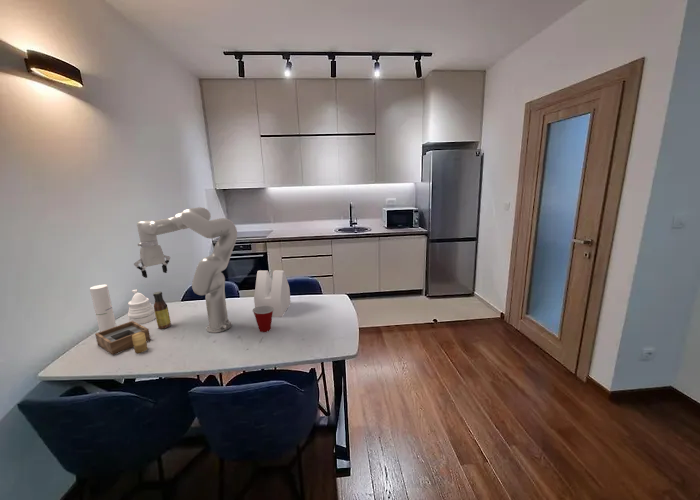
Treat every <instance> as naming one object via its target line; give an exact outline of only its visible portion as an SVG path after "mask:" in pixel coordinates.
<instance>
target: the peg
mask: <svg viewBox="0 0 700 500" xmlns="http://www.w3.org/2000/svg"><path fill="white" fill-rule="evenodd" d="M132 340H133V345H134V347H133V348H134V353H136V354H141V352H142V353H144V352H146V351H147V350H148V349H149V347H148V344H147V342H148V341H146V337H145V333H144V332H139V333H136V334H134V335H132Z"/></svg>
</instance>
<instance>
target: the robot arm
mask: <svg viewBox="0 0 700 500" xmlns="http://www.w3.org/2000/svg"><path fill="white" fill-rule="evenodd" d="M211 218H212V217H211V212H210V210H208V209H207V208H205V207H200V206H199V207H192V208H186V209H184V210H183V211H182V212H177V213H175V215H174V216H172V217H168V218H162V219H156V220H149V219H148V220H147V219H146V220H140V221H138V222H137V224H136V227H137V232H138V237H139V243H137V246H138V247H140V249H139V257H140V259H138V260H137V261H136V262H134V263H133V266H135V268H136V269H138V270H139V271H140V272H141V276H142V277H143V278H144V279H146V278H148V274H147V273H148V272H147V270H146V269H147V267H153V266H157V265H162V266H161V268H162V272H163V274H167V273H168V268H167V266H168V264H169V263H170V260H171V256H169V255H165V254H164V252H163V249H162V246H161V244H159V242H158V236H159V235H165V234H168V233H173V232H174V233H175V232H177V231H181V230H187V229H190V230H191V231H193V232H195V233H197V234H198V235H200V236H202V237H204V238H206V239H215V238H218V240H217V241H216V243H215V244H214V248H213V250H212V253H211V254H210V255H208V256H206V257H203V258H202V259H201V260H199V262H198V264H197V266H196V270H195V272H194V275H193V279H192V282H191V288H192V290H193V293H194V294H196V295H198V296H205V298H204V299H205V304H206V312H207V319H208V325H207V326H206V332H208V333H211V334H213V333H216V334H217V333H222V332H225V331H227V330H229V329H230V328H231V327H232V325H233V323H232V321H230V320H229V316H228V308H227V302H226V292H225V286H226V277H225V275H224V273H223V271H225V270H226V269H227V267H228V265H229V262H230V260H231V256H232V253H233V250H234V248H235V244H236V243H237V238H238V230H237V227H236V225H235V223H234V222H233V221H232V220H231V219H229V218H216V219H211ZM140 264H141V266H140Z"/></svg>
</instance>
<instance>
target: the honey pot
mask: <svg viewBox="0 0 700 500" xmlns="http://www.w3.org/2000/svg"><path fill="white" fill-rule="evenodd" d="M131 292H132V293H133V294H134V295H133V296H132V297H131V300H130V301H128V303H127V304H128V306H129V307H128V313H127V318H128V322H131V321H134V322H136V323H138V324H140V325H142V324H147V323H150V322H153V321H154V320H156V316H155V311H154V305H152V302H150V298H148V297H146V296H145V295H144V294H143V293H141V292H138V289H132V290H131Z"/></svg>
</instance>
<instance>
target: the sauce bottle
mask: <svg viewBox="0 0 700 500" xmlns="http://www.w3.org/2000/svg"><path fill="white" fill-rule="evenodd" d="M152 296H153V297H154V304H153V308H154V311H155V316H156V318H155V320H156V323H157V324H156V325H157V327H158V329H161V330H162V329H163V330H164V329H167V328H170V327H171V326H172V322H171V317H170V313H169V308H168V305H167V303H166V301H165V300H164V297H163V292H162V291H156V292H153V294H152Z"/></svg>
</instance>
